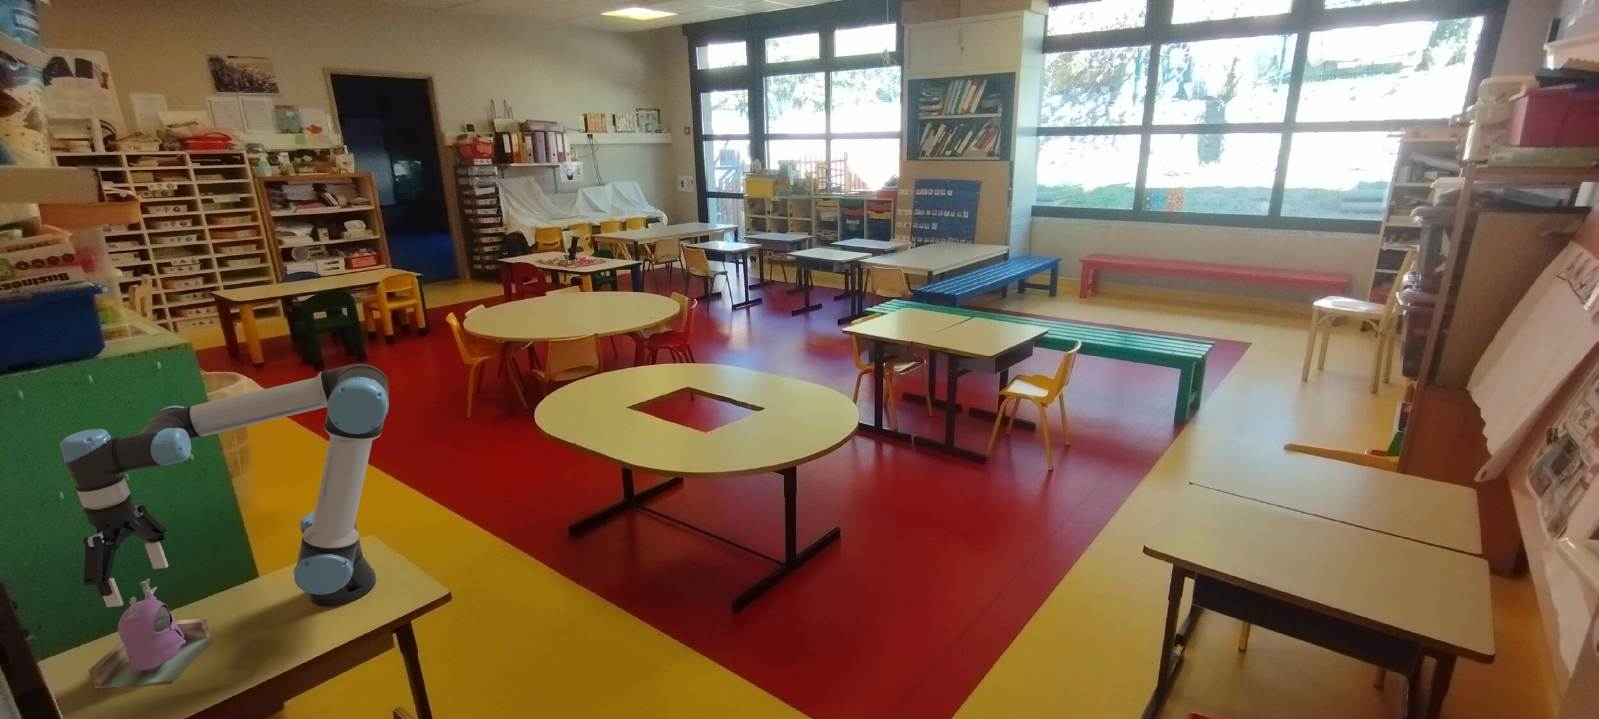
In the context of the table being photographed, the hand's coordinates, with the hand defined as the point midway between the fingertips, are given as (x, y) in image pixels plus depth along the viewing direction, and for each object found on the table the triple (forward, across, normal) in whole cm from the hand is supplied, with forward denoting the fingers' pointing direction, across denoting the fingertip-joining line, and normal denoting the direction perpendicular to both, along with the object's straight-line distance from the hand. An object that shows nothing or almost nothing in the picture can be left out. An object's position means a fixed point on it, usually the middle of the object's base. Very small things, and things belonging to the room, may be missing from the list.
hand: (139, 585), depth 160 cm
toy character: (+21, 0, -1) cm, 21 cm away
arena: (+21, -1, -3) cm, 21 cm away
